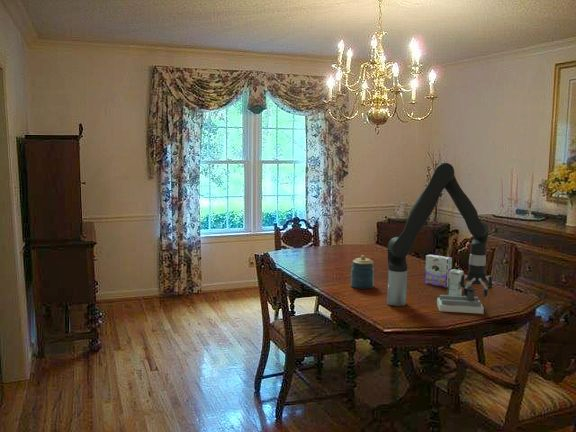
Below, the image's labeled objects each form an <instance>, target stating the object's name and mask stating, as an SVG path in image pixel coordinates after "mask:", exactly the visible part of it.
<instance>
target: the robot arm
mask: <svg viewBox="0 0 576 432" xmlns="http://www.w3.org/2000/svg"><path fill="white" fill-rule="evenodd" d="M444 189H445V191H446V193H448V195H449V196H450V198H451V200H452V201H453V204H454V205H455V207H456V208H457V210H458V212H459V213H460V215H461V216H462V219H464V222H465V225H466V227H467V229H468V232H469V233H470V234H471V236H472V241H471V243H470V251H469V257H468V271H467V272H468V273H467V274H464V273H463V274H461V281H460V286H461V287H462V289H463V296H467V288H468V286H470V285H471V286H472V285H482V286H483V295H482V296H483V298H486V297H487V296H488V290H491V289H492V288H493V277H492V276H491V275H486V265H487V257H486V256H487V255H486V254H487V253H486V252H487V242H488V236H489V226H488V224H487V223H486V222H485V221H481V219H480V218H479V214H478V210H477V209H476V207H475V206H474V204H473V203H472V201H471V199H470V198H469V197H468V196H467V194H466V193H465V192H464V190H463V189H462V187H461V186H460V183H458V180H457V179H456V175H455V168H454V166H453V164H451V163H449V162H442V163H439V164H438V165H437V166H436V167H435V169H434V171H433V174H432V176H431V178H430V180H429V182H428V184H427V185H426V187H425V188H424V190H423V191H422V192H421V194H420V195H419V197H418V198H417V199H416V201H415V202H414V204H413V206H412V207H411V209H410V210H409V214H408V216H407V219H406V224H405V226H404V229H403V230H402V232H401V234H399V236H395V237H392V238H391V239H390V240H389V241H388V244H387V264H388V267H387V268H388V275H387V293H386V295H387V296H386V304H387V305H389V306H394V307H403V306H406V304H407V290H408V289H407V288H408V287H407V286H408V285H407V284H408V263H407V256H408V255H409V253H410V251H411V250H412V247H413V245H414V243H415V241H416V239H417V237H418V235H419V234H420V232H421V231H422V229H423V227H424V226H425V225H426V224H427V221H428V220H429V218H430V216H431V215H432V213H433V211H434V209H435V207H436V206H437V203H438V201H439V199H440V196H441V194H442V192H443V190H444ZM466 279H468V280H467V281H466V282H465V280H466ZM485 280H487V285H486V284H485V282H484V281H485ZM464 282H465V284H464Z"/></svg>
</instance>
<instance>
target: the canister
mask: <svg viewBox="0 0 576 432" xmlns="http://www.w3.org/2000/svg"><path fill="white" fill-rule="evenodd" d="M373 263H374V261H373V260H371V259H370V258H367V257H366V255H363V254H362V255H361V256H360V257H356V258H355V259H352V263H351V264H350V266H351V269H350V286H351V287H352V288H355V289H360V290H366V289H372V288H374V284H375V282H374V281H375V270H374V268H375V265H374V264H373Z"/></svg>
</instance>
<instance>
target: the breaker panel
mask: <svg viewBox="0 0 576 432" xmlns="http://www.w3.org/2000/svg"><path fill="white" fill-rule="evenodd" d="M436 306H437V309H438V310H439V311H440V312H449V313H464V314H465V313H466V314H467V313H468V314H479V315H481V314H482V315H484V309H485V308H484V306H483V304H482V301H480V300H479V296H474V301H466V296H465V295H462V296H454V295H447V294H439V297H437V299H436Z"/></svg>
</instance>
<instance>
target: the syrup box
mask: <svg viewBox="0 0 576 432" xmlns="http://www.w3.org/2000/svg"><path fill="white" fill-rule="evenodd" d="M461 274H464V270H461V269H457V268H456V269H453V268H452V270H451V271H449V276H448V287H447V289H446V290H447V291H446V295H454V296H463V295H462V294H463V287H461V286H460V281H461Z"/></svg>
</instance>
